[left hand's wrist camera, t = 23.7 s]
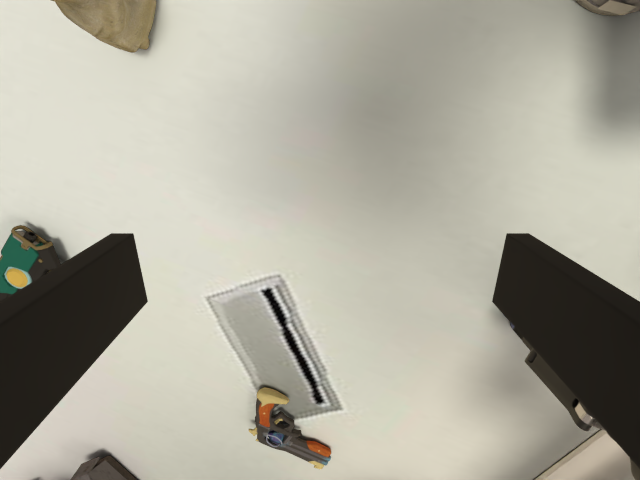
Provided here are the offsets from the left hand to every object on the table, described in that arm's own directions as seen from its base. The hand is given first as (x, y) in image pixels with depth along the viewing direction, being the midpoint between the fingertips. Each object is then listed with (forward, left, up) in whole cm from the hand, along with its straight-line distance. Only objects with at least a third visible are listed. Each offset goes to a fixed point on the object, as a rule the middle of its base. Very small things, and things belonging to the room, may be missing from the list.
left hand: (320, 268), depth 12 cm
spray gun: (+45, +3, -33) cm, 55 cm away
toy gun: (+20, +42, -33) cm, 57 cm away
